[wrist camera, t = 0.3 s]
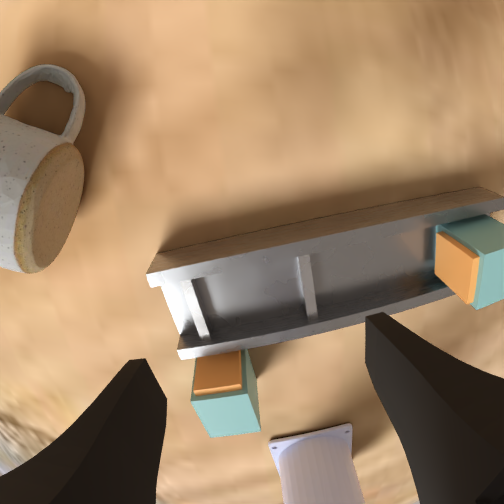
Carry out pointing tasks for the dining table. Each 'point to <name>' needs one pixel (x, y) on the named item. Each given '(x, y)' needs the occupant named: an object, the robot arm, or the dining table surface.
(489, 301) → the teal orange box
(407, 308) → the rail
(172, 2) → the dining table surface
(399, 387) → the robot arm
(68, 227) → the ceramic mug
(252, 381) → the teal and orange block
